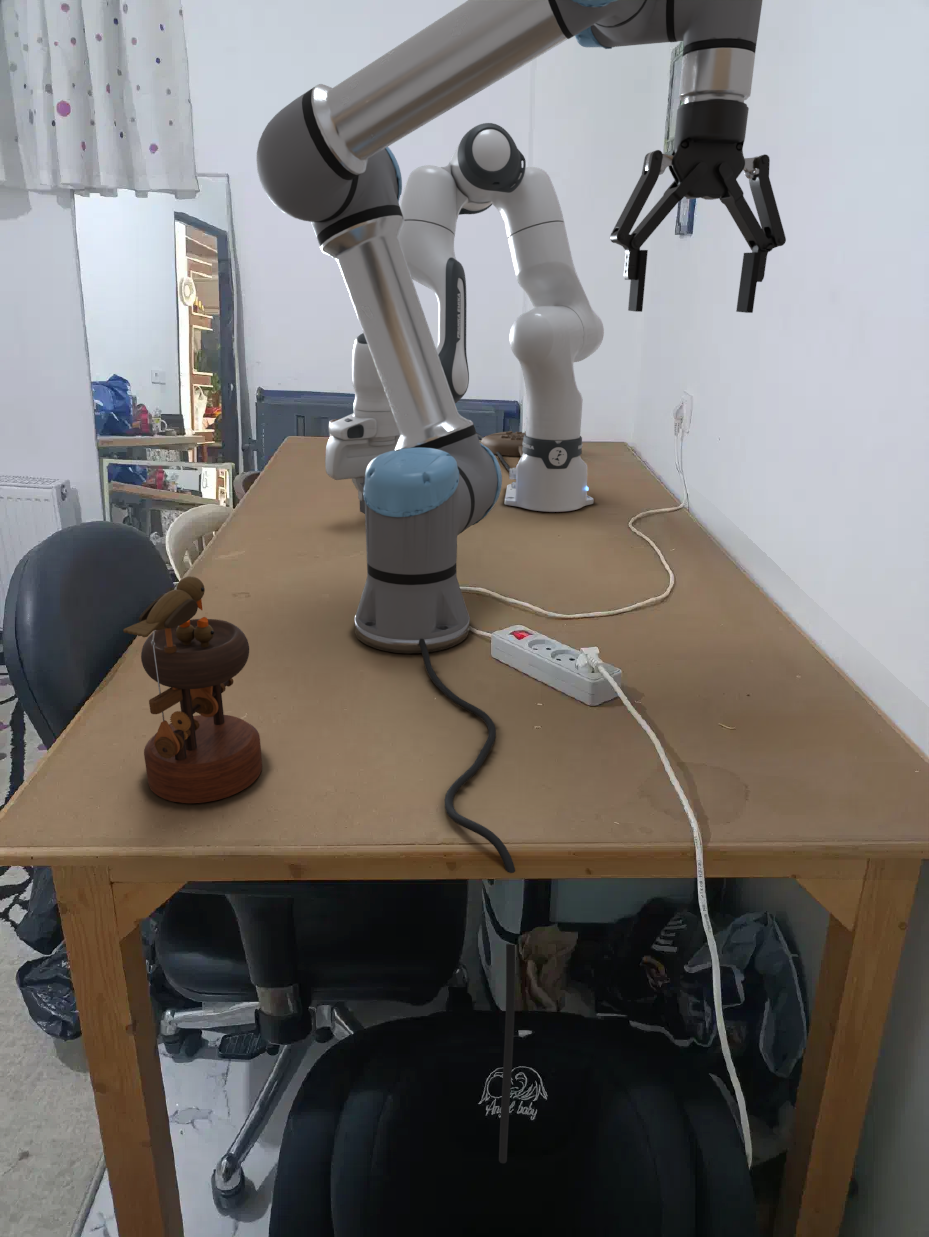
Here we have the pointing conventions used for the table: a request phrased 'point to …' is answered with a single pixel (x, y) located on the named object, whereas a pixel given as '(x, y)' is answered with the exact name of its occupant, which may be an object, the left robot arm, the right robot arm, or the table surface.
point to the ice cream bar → (505, 443)
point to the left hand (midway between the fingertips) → (690, 312)
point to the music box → (195, 700)
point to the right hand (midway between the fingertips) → (379, 497)
